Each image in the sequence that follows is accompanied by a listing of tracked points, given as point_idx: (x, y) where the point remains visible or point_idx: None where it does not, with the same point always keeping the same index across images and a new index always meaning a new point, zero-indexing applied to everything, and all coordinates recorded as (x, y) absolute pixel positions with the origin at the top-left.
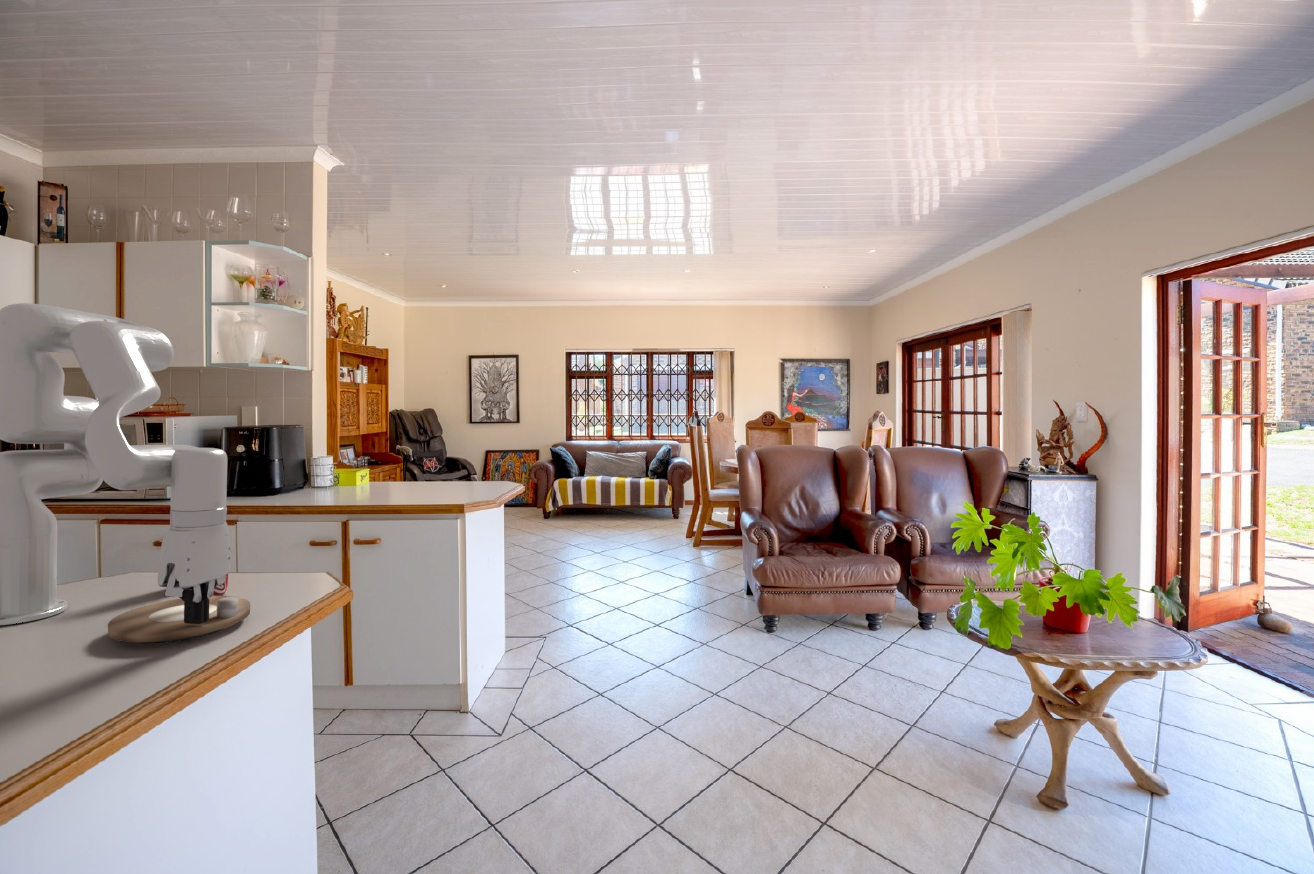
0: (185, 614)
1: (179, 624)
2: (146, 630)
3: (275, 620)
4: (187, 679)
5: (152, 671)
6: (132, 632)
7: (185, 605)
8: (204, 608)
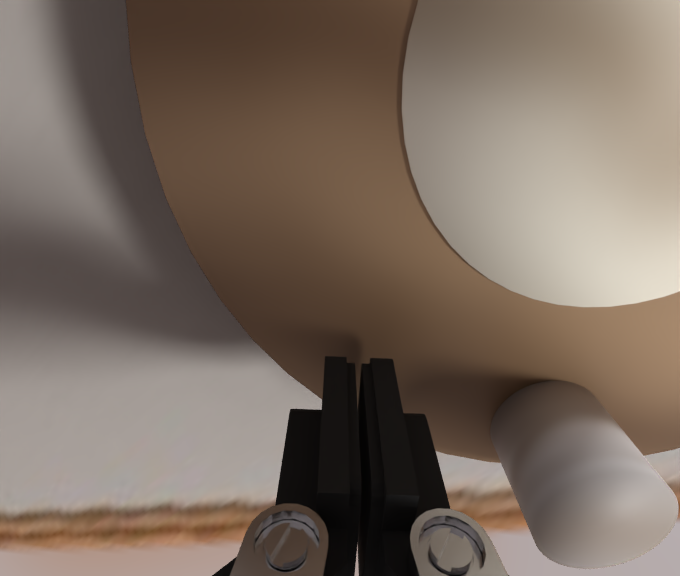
0: (289, 434)
1: (363, 277)
2: (214, 148)
3: (658, 460)
4: (43, 531)
5: (39, 392)
6: (148, 76)
7: (276, 501)
8: (358, 532)
